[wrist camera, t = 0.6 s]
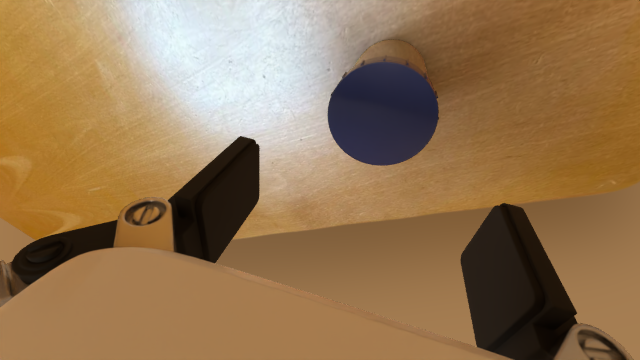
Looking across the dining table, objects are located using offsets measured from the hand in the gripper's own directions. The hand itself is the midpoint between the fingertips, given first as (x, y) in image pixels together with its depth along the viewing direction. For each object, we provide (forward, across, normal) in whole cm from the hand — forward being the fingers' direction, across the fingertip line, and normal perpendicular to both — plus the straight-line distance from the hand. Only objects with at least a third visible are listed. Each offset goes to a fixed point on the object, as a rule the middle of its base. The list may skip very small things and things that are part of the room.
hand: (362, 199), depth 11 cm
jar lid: (+9, 0, 0) cm, 9 cm away
